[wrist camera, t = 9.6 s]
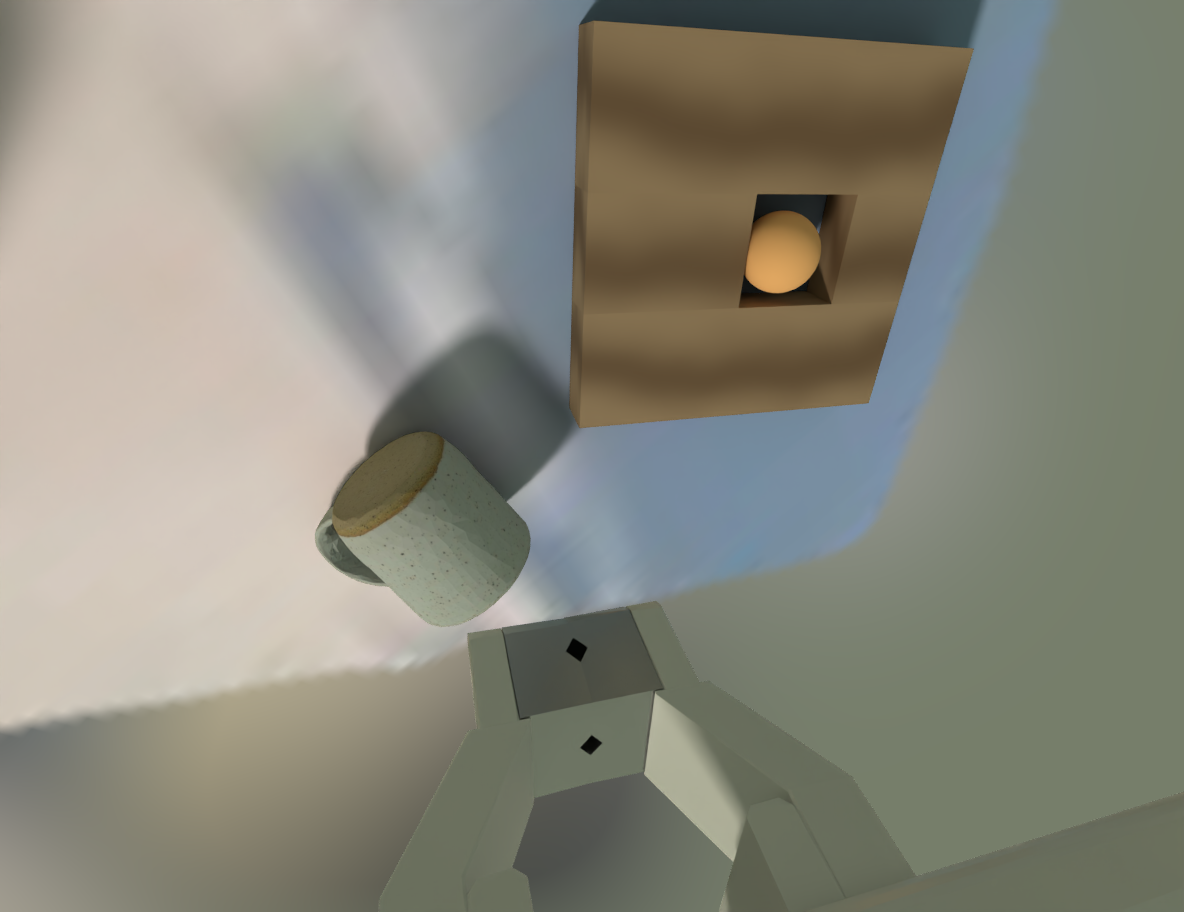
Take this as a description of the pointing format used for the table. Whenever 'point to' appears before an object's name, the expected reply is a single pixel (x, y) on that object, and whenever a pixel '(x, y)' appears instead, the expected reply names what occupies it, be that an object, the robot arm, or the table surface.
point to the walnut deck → (742, 214)
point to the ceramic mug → (426, 530)
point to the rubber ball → (782, 252)
